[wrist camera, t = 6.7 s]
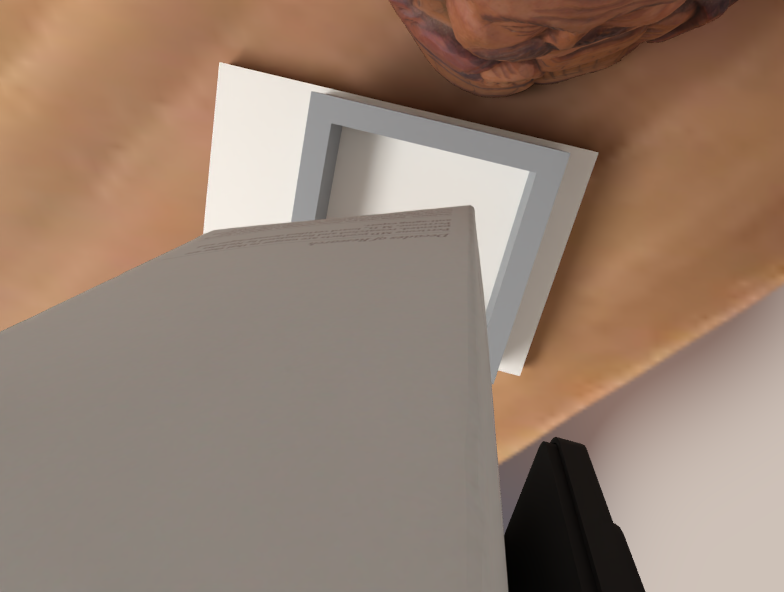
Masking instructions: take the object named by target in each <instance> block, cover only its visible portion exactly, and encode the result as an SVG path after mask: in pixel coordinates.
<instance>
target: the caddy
mask: <svg viewBox="0 0 784 592" xmlns="http://www.w3.org/2000/svg"><path fill="white" fill-rule="evenodd" d="M598 153H599V152H595V151H590V150H586V149H582V148H578V147H574V146H569V145H565V144H561V143H557V142H553V141H548V140H544V139H540V138H536V137H532V136H527V135H523V134H519V133H515V132H511V131H506V130H502V129H498V128H494V127H490V126H485V125H481V124H477V123H473V122H469V121H464V120H460V119H456V118H452V117H448V116H443V115H439V114H435V113H431V112H427V111H422V110H418V109H414V108H410V107H406V106H401V105H397V104H393V103H389V102H385V101H380V100H376V99H372V98H368V97H364V96H360V95H355V94H351V93H347V92H343V91H339V90H334V89H330V88H326V87H322V86H318V85H313V84H309V83H305V82H301V81H297V80H292V79H288V78H284V77H280V76H276V75H271V74H267V73H263V72H259V71H255V70H250V69H246V68H242V67H238V66H234V65H229V64H225V63H221V62H219V73H218V83H217V94H216V105H215V115H214V126H213V136H212V147H211V157H210V168H209V179H208V189H207V200H206V210H205V221H204V232H203V234H205V233H208V232H210V231H213V230H219V229H227V228H236V227H246V226H256V225H267V224H278V223H288V222H299V221H310V220H321V219H332V218H343V217H354V216H362V215H372V214H386V213H395V212H404V211H415V210H423V209H436V208H446V207H455V206H466V205H471V206H473V207H474V209H475V221H476V232H477V240H478V248H479V256H480V265H481V274H482V283H483V291H484V301H485V313H486V324H487V335H488V346H489V359H490V372H491V384H493V383H494V380H495V377H496V374H497V371H498V370H499V371H503V372H506V373H510V374H514V375H518V376H520V374H521V371H522V368H523V365H524V362H525V360H526V357H527V354H528V351H529V348H530V345H531V343H532V340H533V337H534V334H535V331H536V328H537V326H538V323H539V320H540V317H541V314H542V312H543V309H544V306H545V303H546V300H547V297H548V295H549V292H550V289H551V286H552V283H553V280H554V278H555V275H556V272H557V269H558V266H559V263H560V261H561V258H562V255H563V252H564V249H565V246H566V244H567V241H568V238H569V235H570V232H571V229H572V227H573V224H574V221H575V218H576V215H577V212H578V210H579V207H580V204H581V201H582V198H583V195H584V193H585V190H586V187H587V184H588V181H589V178H590V176H591V173H592V170H593V167H594V164H595V161H596V159H597V156H598Z"/></svg>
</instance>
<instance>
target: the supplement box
mask: <svg viewBox="0 0 784 592" xmlns="http://www.w3.org/2000/svg"><path fill="white" fill-rule="evenodd" d="M0 592H508V581H507V568H506V555H505V543H504V530H503V517H502V505H501V493H500V482H499V470H498V458H497V446H496V434H495V421H494V408H493V396H492V384H491V372H490V359H489V346H488V335H487V324H486V313H485V301H484V291H483V283H482V274H481V265H480V256H479V248H478V240H477V232H476V221H475V209H474V207H473V206H471V205H466V206H455V207H446V208H436V209H423V210H415V211H404V212H395V213H386V214H372V215H362V216H354V217H343V218H332V219H321V220H310V221H299V222H288V223H278V224H267V225H256V226H246V227H236V228H227V229H219V230H213V231H210V232H208V233H205V234H203V235H201V236H199V237H197V238H195V239H194V240H192V241H189V242H187V243H185V244H183V245H181V246H179V247H177V248H175V249H173V250H171V251H169V252H166V253H164V254H162V255H160V256H158V257H156V258H154V259H152V260H150V261H148V262H145V263H143V264H141V265H139V266H137V267H135V268H133V269H131V270H128V271H126V272H124V273H123V274H121V275H119V276H117V277H115V278H113V279H110V280H108V281H106V282H104V283H102V284H100V285H98V286H96V287H94V288H92V289H89V290H87V291H85V292H83V293H81V294H79V295H77V296H75V297H73V298H71V299H68V300H66V301H64V302H62V303H60V304H58V305H56V306H54V307H52V308H50V309H48V310H46V311H44V312H41V313H39V314H37V315H35V316H33V317H31V318H29V319H27V320H24V321H22V322H20V323H18V324H16V325H13V326H11V327H9V328H7V329H5V330H3V331H1V332H0Z"/></svg>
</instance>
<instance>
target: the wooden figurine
mask: <svg viewBox="0 0 784 592" xmlns="http://www.w3.org/2000/svg"><path fill="white" fill-rule="evenodd" d="M736 1H737V0H389V2H390V3H391V5H392V7H393V8H394V10H395V12H396V13H397V15H398V16H399V17H400V19H401V20H402V22H403V23H404V24H405V26H406V28H407V29H408V31H409V32H410V34H411V35H412V37H413V38H414V40H415V42H416V43H417V45H418V46H419V48H420V50H421V51H422V52H423V54H424V55H425V57H426V58H427V60H428V61H429V63H430V64H431V65H432V66H433V67H434V69H435V70H436V71H437V72H438V73H440V74H441V75H442V76H444V77H445V78H446V79H447V80H448V81H449V82H451V83H452V84H454V85H455V86H457V87H459V88H461V89H463V90H465V91H468V92H470V93H472V94H474V95H477V96H481V97H492V98H496V97H503V96H509V95H512V94H515V93H517V92H520V91H524V90H526V89H527V88H529V87H530V86H532V85H533V84H554V83H558V82H561V81H565V80H568V79H569V78H573V77H577V76H580V75H583V74H586V73H592V72H596V71H598V70H601V69H604V68H607V67H609V66H612V65H613V64H615V63H617V62H619V61H621V59H622V58H623V57H624V56H625V55H627V54H628V53H630V52H631V51H632V50H634V49H635V48H636V47H637V46H638V45H639V44H640V43H642V42H644V41H647V43H654V42H663V41H665V40H668V39H671V38H673V37H675V36H678V35H680V34H683V33H685V32H688V31H690V30H692V29H694V28H697V27H700V26H703V25H705V24H706V23H709V22H711V21H713V20H715V19H717V18H719V17H720V16H721V15H722V14H723V13H724V12H725V11H726V9H727V8H728V7H729V6H731V5H732V4H734V3H735V2H736Z"/></svg>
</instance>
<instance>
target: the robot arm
mask: <svg viewBox="0 0 784 592" xmlns="http://www.w3.org/2000/svg"><path fill="white" fill-rule="evenodd" d="M504 543H505V555H506V568H507V581H508V592H645V590H644V587H643V584H642V582H641V579H640V576H639V574H638V571H637V568H636V566H635V563H634V560H633V558H632V555H631V552H630V550H629V547H628V545H627V542H626V539H625V537H624V534H623V532H622V530H621V529H620V527H619V526H617V525H616V524H614V523H613V521H612V518H611V515H610V513H609V510H608V507H607V504H606V501H605V499H604V496H603V493H602V490H601V488H600V485H599V482H598V479H597V477H596V474H595V471H594V468H593V465H592V463H591V460H590V458H589V454H588V452H587V449H586V447H585V445H583V444H580V443H576V442H572V441H569V440H565V439H561V438H557V437H555V438H553V439H552V440H551V442H550V443H548V442H542V443H541V445H540V447H539V449H538V452H537V454H536V456H535V459H534V461H533V464H532V467H531V469H530V472H529V474H528V477H527V479H526V482H525V484H524V487H523V489H522V492H521V494H520V497H519V499H518V502H517V504H516V507H515V510H514V512H513V514H512V517H511V519H510V522H509V524H508V527H507V529H506V532H505V535H504Z"/></svg>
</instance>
